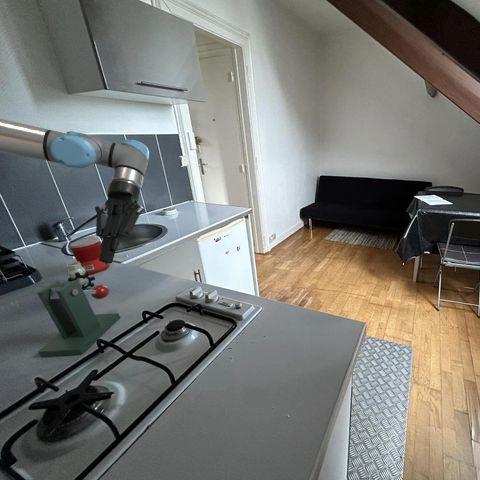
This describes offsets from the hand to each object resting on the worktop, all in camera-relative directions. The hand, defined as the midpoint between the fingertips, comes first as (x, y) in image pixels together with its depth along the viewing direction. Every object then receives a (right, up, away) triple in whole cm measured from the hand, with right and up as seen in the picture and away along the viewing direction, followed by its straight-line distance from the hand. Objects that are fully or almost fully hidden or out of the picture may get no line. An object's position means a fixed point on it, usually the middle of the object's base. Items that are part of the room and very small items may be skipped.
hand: (105, 261), depth 69 cm
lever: (+1, -8, -7) cm, 11 cm away
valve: (-19, -9, +15) cm, 26 cm away
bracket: (+1, -17, -7) cm, 19 cm away
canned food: (-24, -5, +25) cm, 35 cm away
